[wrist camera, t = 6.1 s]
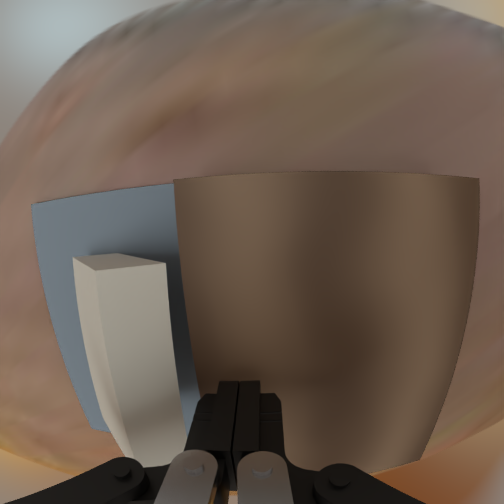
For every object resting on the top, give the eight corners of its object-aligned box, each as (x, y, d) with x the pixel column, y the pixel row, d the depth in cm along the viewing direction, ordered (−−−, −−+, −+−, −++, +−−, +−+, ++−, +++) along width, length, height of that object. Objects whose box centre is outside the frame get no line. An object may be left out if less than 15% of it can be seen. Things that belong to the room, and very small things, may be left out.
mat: (186, 182, 14) (184, 182, 13) (218, 440, 17) (217, 444, 17) (35, 204, 14) (31, 204, 14) (93, 425, 17) (91, 428, 17)
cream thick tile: (165, 263, 10) (95, 270, 8) (192, 466, 10) (144, 485, 9) (117, 253, 14) (72, 257, 13) (139, 407, 15) (102, 417, 13)
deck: (432, 178, 13) (479, 178, 9) (399, 421, 17) (419, 459, 13) (196, 181, 14) (173, 179, 10) (225, 440, 17) (220, 485, 13)
